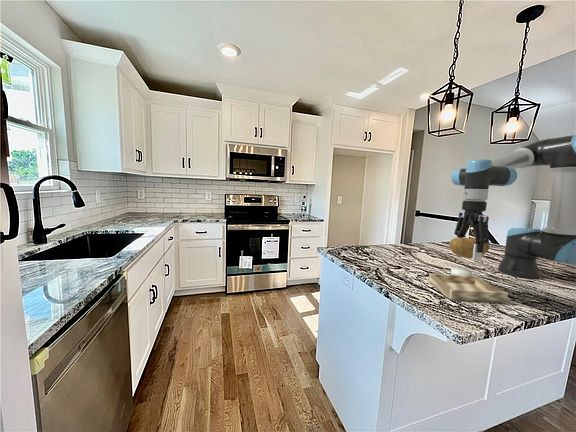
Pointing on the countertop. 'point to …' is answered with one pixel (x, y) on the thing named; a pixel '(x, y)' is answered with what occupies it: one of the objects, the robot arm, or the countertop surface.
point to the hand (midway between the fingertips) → (467, 256)
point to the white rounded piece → (460, 271)
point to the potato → (465, 247)
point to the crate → (467, 288)
